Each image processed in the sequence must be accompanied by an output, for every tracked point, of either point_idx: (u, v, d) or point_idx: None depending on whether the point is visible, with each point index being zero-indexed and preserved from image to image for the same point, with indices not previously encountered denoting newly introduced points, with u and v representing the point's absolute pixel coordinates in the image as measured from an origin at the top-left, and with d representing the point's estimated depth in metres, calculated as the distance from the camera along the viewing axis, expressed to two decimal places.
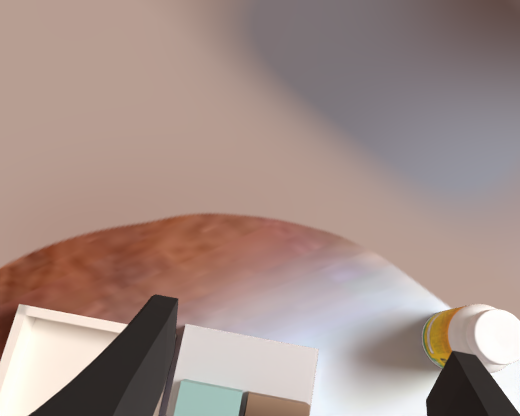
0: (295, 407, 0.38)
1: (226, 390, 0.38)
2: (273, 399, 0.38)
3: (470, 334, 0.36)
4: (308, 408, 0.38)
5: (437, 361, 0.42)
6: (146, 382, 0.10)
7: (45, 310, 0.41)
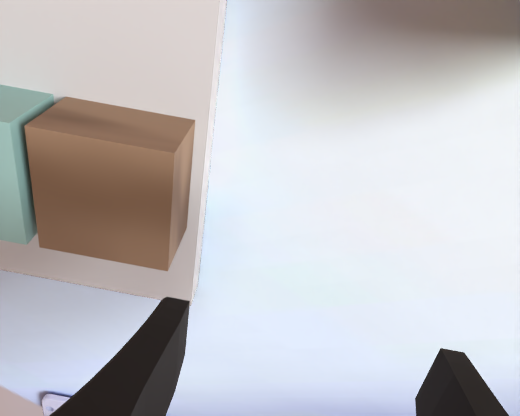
0: (140, 157, 0.16)
1: None
2: (85, 138, 0.16)
3: None
4: (170, 159, 0.16)
5: None
6: (159, 385, 0.10)
7: None
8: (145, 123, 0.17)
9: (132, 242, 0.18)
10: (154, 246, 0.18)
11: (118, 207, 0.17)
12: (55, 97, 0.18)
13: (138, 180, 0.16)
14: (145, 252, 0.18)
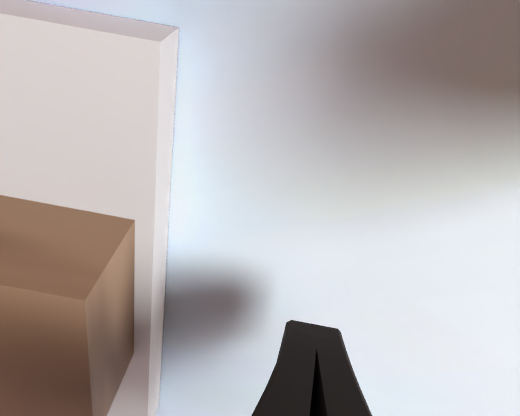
0: (31, 304, 0.10)
1: None
2: None
3: None
4: (80, 307, 0.10)
5: None
6: None
7: None
8: (53, 233, 0.11)
9: (37, 408, 0.12)
10: (70, 414, 0.12)
11: (9, 366, 0.11)
12: None
13: (33, 333, 0.10)
14: None
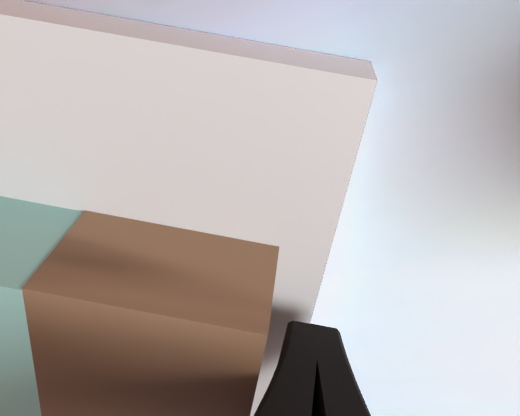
0: (210, 338, 0.10)
1: None
2: (122, 308, 0.10)
3: None
4: (260, 341, 0.10)
5: None
6: None
7: None
8: (209, 262, 0.11)
9: None
10: None
11: (169, 396, 0.11)
12: None
13: (203, 365, 0.10)
14: None
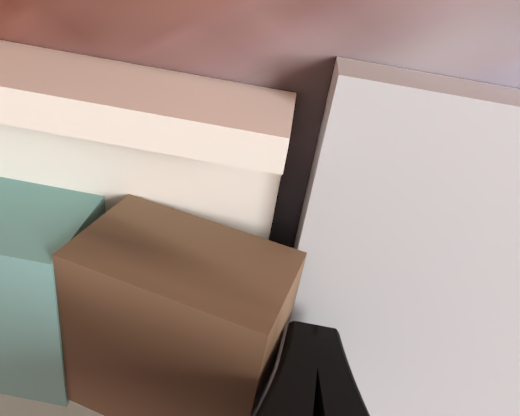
0: (213, 329, 0.10)
1: None
2: (135, 286, 0.10)
3: None
4: (261, 341, 0.09)
5: None
6: None
7: None
8: (231, 257, 0.11)
9: None
10: None
11: (174, 382, 0.11)
12: None
13: (207, 357, 0.10)
14: None
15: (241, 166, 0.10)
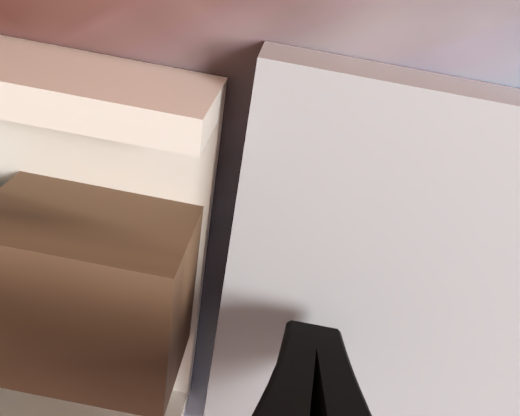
0: (121, 282, 0.10)
1: None
2: (38, 253, 0.10)
3: None
4: (168, 285, 0.10)
5: None
6: None
7: None
8: (131, 217, 0.12)
9: (112, 384, 0.12)
10: (143, 390, 0.12)
11: (90, 342, 0.12)
12: (467, 286, 0.12)
13: (119, 310, 0.11)
14: (131, 396, 0.12)
15: (158, 147, 0.10)
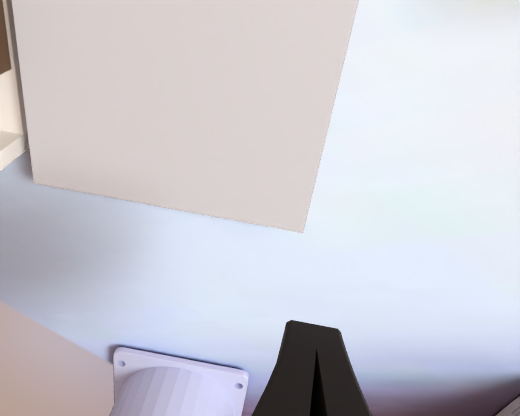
0: None
1: None
2: None
3: None
4: None
5: None
6: None
7: None
8: None
9: None
10: None
11: None
12: None
13: None
14: None
15: None
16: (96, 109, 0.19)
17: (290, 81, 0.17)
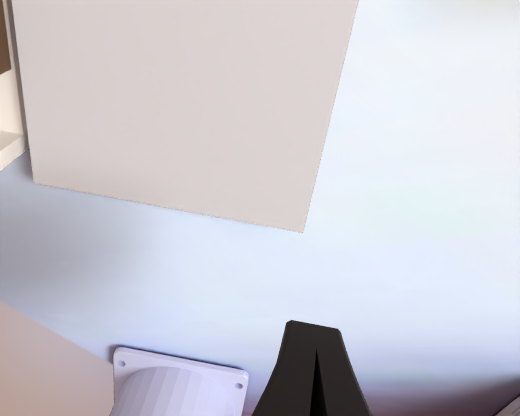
0: None
1: None
2: None
3: None
4: None
5: None
6: None
7: None
8: None
9: None
10: None
11: None
12: None
13: None
14: None
15: None
16: (96, 109, 0.19)
17: (290, 81, 0.17)
